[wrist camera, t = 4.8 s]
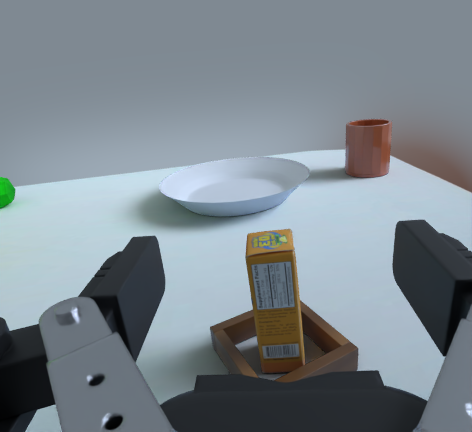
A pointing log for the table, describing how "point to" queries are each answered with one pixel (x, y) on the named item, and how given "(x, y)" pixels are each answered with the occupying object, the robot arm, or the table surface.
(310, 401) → the robot arm
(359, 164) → the cup
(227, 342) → the wooden frame
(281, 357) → the supplement box
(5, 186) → the green faceted polyhedron
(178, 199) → the white plate
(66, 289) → the table surface
